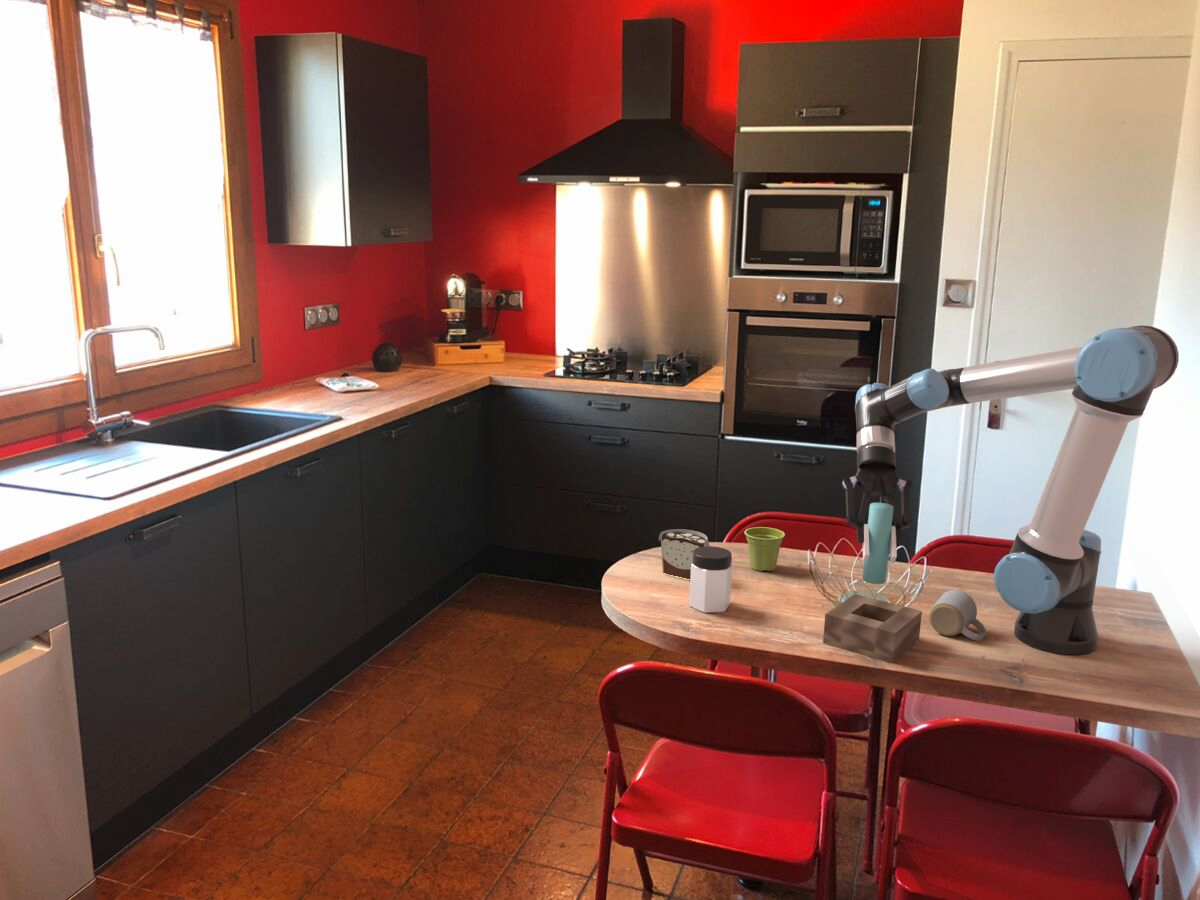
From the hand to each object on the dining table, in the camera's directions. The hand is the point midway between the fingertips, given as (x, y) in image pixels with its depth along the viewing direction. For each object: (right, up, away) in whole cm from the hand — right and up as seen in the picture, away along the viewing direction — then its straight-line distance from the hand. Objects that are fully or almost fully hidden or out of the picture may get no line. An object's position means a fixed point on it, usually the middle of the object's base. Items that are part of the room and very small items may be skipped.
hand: (879, 558), depth 187 cm
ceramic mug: (+19, -17, +13) cm, 29 cm away
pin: (0, -5, +5) cm, 7 cm away
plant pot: (-14, -8, +48) cm, 51 cm away
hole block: (0, -17, +7) cm, 19 cm away
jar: (-30, -13, +24) cm, 40 cm away
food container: (-33, -9, +42) cm, 54 cm away
